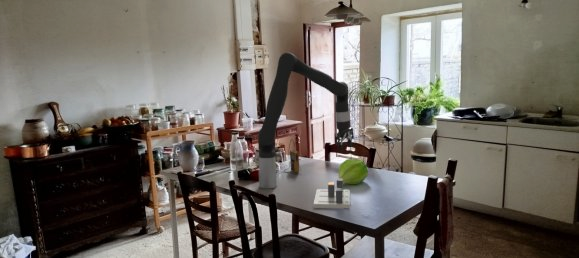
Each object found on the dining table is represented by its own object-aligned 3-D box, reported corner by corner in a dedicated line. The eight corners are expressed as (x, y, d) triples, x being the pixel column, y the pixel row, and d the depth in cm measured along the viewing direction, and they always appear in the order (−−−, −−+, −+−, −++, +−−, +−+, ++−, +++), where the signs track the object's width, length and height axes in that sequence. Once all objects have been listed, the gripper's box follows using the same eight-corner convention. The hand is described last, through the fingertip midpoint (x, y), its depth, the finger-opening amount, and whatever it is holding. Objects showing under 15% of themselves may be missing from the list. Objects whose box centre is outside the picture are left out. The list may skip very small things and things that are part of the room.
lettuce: (355, 195, 214) (332, 193, 224) (376, 176, 229) (354, 175, 240) (348, 170, 210) (325, 169, 221) (370, 153, 225) (348, 153, 236)
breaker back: (336, 192, 206) (336, 180, 205) (337, 189, 210) (336, 178, 209) (342, 192, 206) (342, 180, 205) (342, 189, 210) (342, 178, 209)
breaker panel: (313, 207, 191) (313, 203, 191) (317, 192, 213) (316, 189, 213) (349, 208, 189) (349, 204, 189) (349, 193, 210) (349, 189, 210)
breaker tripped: (328, 197, 199) (327, 184, 198) (328, 194, 203) (328, 182, 202) (334, 197, 198) (334, 184, 197) (334, 194, 202) (334, 182, 201)
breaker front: (335, 202, 191) (335, 190, 190) (336, 200, 194) (335, 188, 193) (342, 203, 190) (342, 190, 189) (342, 200, 194) (342, 188, 193)
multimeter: (277, 170, 258) (276, 140, 255) (291, 168, 262) (290, 138, 259) (287, 176, 245) (286, 144, 242) (302, 173, 249) (301, 142, 246)
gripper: (344, 116, 222) (347, 145, 226) (329, 122, 212) (331, 151, 215) (356, 117, 217) (358, 146, 220) (341, 122, 207) (343, 153, 210)
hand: (345, 149), depth 218 cm, fingers open, 8 cm apart
